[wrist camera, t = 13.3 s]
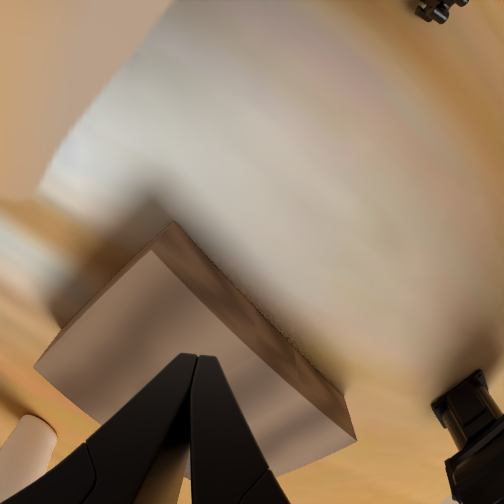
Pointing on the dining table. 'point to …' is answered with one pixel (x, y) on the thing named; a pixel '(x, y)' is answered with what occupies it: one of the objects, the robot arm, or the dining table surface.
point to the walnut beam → (195, 352)
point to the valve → (437, 9)
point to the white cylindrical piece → (25, 455)
